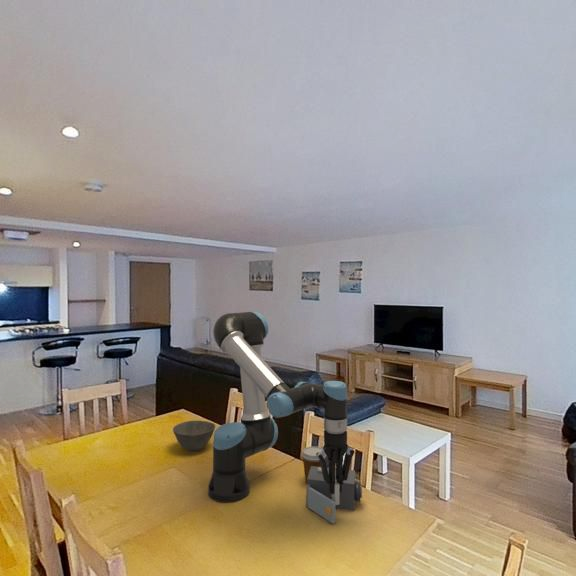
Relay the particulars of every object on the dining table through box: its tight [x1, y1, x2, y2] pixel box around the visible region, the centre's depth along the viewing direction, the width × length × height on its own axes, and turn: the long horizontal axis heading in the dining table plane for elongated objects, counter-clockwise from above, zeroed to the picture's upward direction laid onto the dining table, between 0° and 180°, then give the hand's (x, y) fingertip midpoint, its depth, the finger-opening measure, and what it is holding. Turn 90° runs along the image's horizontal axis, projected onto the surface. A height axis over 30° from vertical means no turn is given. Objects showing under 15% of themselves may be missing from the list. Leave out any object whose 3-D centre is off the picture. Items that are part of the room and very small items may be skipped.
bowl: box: [172, 420, 216, 452], centre depth 182 cm, size 19×19×10 cm
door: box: [305, 484, 336, 524], centre depth 130 cm, size 13×2×7 cm, turn 39°
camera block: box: [306, 466, 363, 512], centre depth 140 cm, size 18×10×10 cm, turn 79°
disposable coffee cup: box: [301, 445, 327, 485], centre depth 152 cm, size 10×10×12 cm
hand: (335, 502), depth 129 cm, fingers closed
